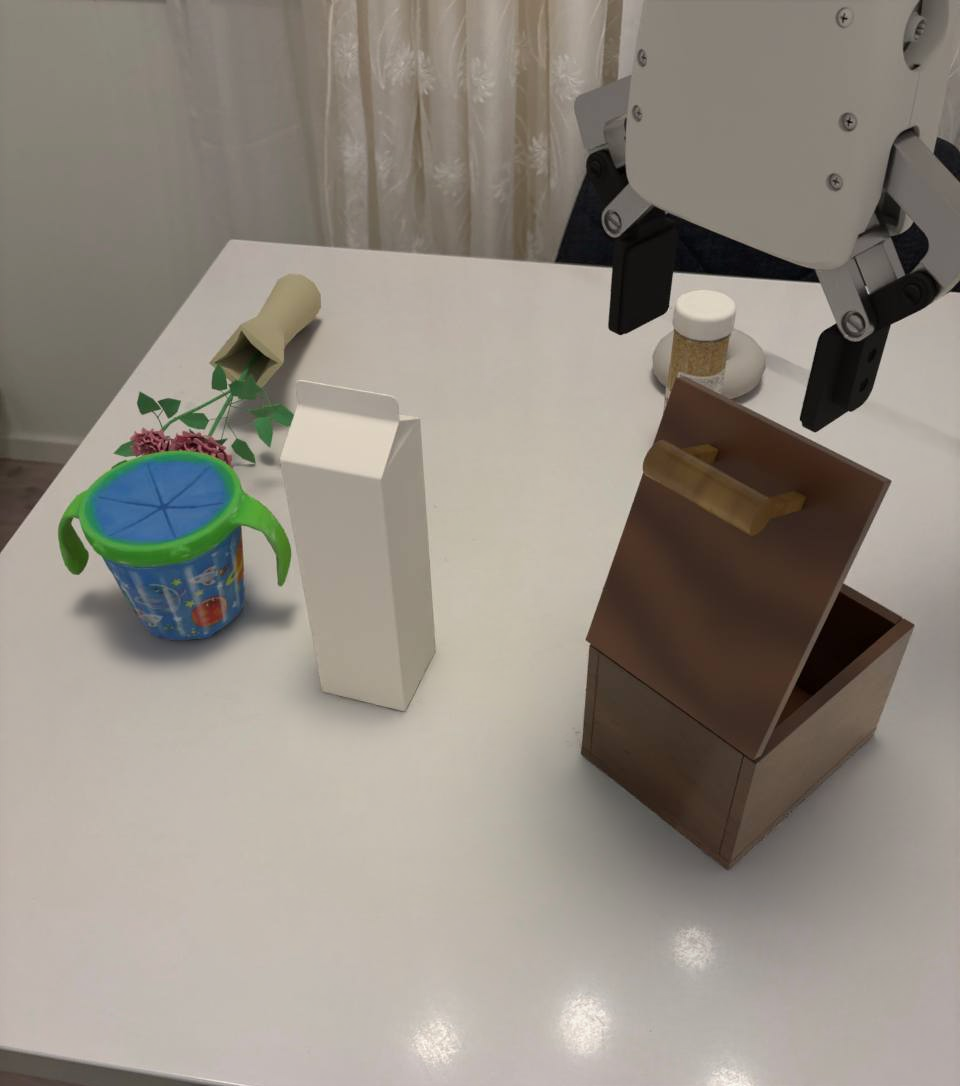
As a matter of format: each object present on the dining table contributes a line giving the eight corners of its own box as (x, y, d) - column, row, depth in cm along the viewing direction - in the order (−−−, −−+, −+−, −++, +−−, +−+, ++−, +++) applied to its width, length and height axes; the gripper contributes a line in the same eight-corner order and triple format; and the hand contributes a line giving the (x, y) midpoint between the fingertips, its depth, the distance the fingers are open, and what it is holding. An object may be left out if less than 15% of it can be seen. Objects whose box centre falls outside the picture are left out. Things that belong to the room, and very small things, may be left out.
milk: (356, 632, 76) (316, 349, 60) (437, 650, 74) (418, 366, 59) (320, 694, 71) (268, 408, 56) (406, 714, 70) (376, 427, 54)
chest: (728, 639, 74) (750, 529, 67) (874, 734, 68) (915, 624, 61) (580, 753, 68) (588, 644, 61) (727, 871, 61) (755, 764, 54)
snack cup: (57, 645, 75) (9, 532, 68) (124, 548, 82) (87, 436, 75) (269, 678, 73) (243, 564, 65) (319, 575, 80) (300, 462, 72)
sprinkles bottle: (664, 432, 92) (682, 283, 82) (717, 441, 91) (742, 292, 81) (651, 462, 89) (669, 312, 79) (707, 473, 88) (731, 321, 78)
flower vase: (337, 400, 109) (249, 566, 80) (219, 361, 108) (86, 516, 79) (365, 287, 103) (282, 423, 74) (240, 245, 102) (105, 366, 73)
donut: (627, 378, 98) (713, 422, 92) (629, 344, 95) (717, 387, 90) (700, 339, 102) (785, 379, 97) (704, 305, 100) (792, 344, 94)
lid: (684, 375, 53) (613, 382, 49) (893, 480, 46) (830, 497, 43) (593, 637, 60) (526, 660, 57) (761, 756, 54) (698, 791, 51)
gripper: (1174, -131, 29) (973, 418, 41) (673, -201, 38) (630, 265, 50) (1033, -83, 25) (858, 503, 37) (518, -173, 34) (513, 321, 46)
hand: (728, 366), depth 44 cm, fingers open, 9 cm apart
